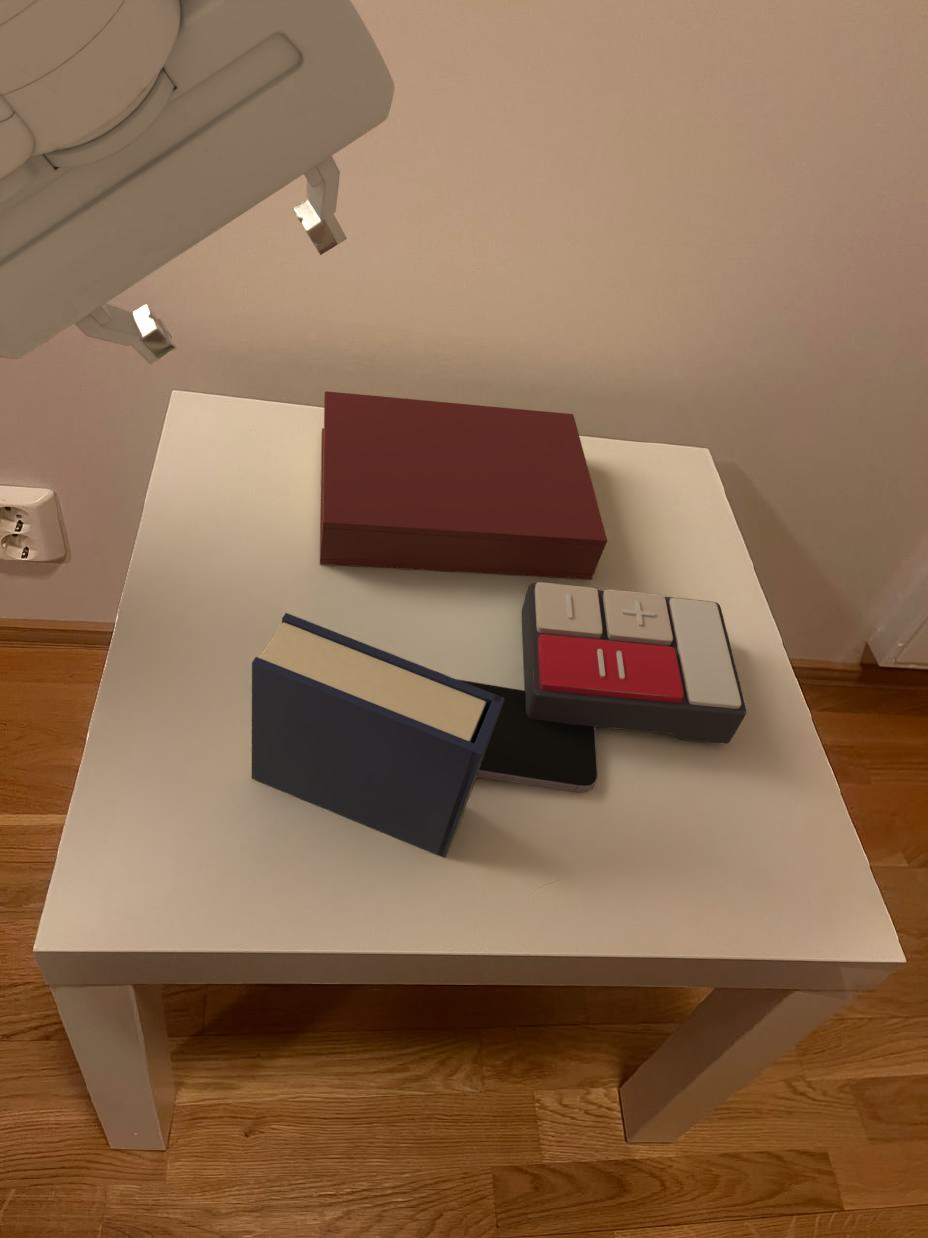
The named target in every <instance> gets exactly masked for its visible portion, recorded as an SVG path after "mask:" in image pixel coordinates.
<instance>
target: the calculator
mask: <svg viewBox="0 0 928 1238" xmlns="http://www.w3.org/2000/svg"><path fill="white" fill-rule="evenodd" d="M523 599H524V600H523V603H522V606H521V607H522V608H521V634H522V637H521V638H522V658H523V660H522V661H523V680H524V681H523V685H524V686H523V687H524V689H523V690H525V693H526V714H527V716H528V717H529V718H531V719H536V720H543V721H550V722H557V723H564V724H572V725H583V726H594V727H595V728H606V729H617V730H626V731H627V730H628V731H639V732H649V733H660V734H670V735H672V736H674V737H676V738H677V739H679V740H680V741H689V742H702V743H703V742H704V743H712V744H722V745H726V744H729V743H731V741H732V740H733V738H734V736H735V735H736V734H737V733H736V732H737V731H738V729H739V728H740V726H741V724H742V723H743V721H744V719H745V717H746V715H747V713H748V710H747V705H746V702H745V698H744V693H743V690H742V686H741V681H740V678H739V674H738V671H737V666H736V662H735V658H734V654H733V650H732V647H731V642H730V639H729V634H728V631H727V627H726V622H725V619H724V615H723V611H722V607H721V605H720V603H719V602H717V601H712V600H703V599H693V598H682V597H672V596H664V595H662V594H656V593H646V592H636V591H627V590H618V589H597V588H595V587H589V586H580V585H579V586H578V585H572V584H571V585H569V584H562V583H551V582H541V581H540V582H539V581H538V582H531V583H529V584H528V585H527V587H526V591H525V595H524V598H523Z"/></svg>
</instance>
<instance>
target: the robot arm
mask: <svg viewBox="0 0 928 1238" xmlns="http://www.w3.org/2000/svg"><path fill="white" fill-rule="evenodd" d="M395 86H396V85H395V83H394V79H393V77H392V75H391V73H390V70H389V68H388V65H387V64H386V62H385V59H384V58H383V56H382V54H381V51H380V50H379V48H378V45H377V43H376V41H375V40H374V38H373V36H372V34H371V33H370V31H369V29H368V27H367V26H366V24H365V22H364V20H363V19H362V17H361V14H360V13H359V12H358V10H357V9H356V7H355V6H354V4H353V2H352V0H0V359H5V360H6V359H7V360H20V359H23V358H24V357H26V356H28V355H29V354H31V353H32V352H34V351H35V350H37V349H38V348H40V347H42V346H43V345H44V344H46V343H47V342H48V341H51V340H52V339H53V338H55V337H57V336H58V335H60V334H61V333H63V332H64V331H66V330H67V329H69V328H70V327H72V326H74V325H75V326H76V327H77V328H78V329H79V330H80V331H81V332H82V333H83V334H84V335H85V336H86V337H88V338H91V339H92V338H93V339H97V340H100V341H104V342H109V343H113V344H117V345H121V346H125V347H130V346H131V347H132V348H133V350H135V352H137V353H138V354H139V355H140V357H142V358H143V359H144V360H145V361H146V362H147V364H149V365H150V366H151V365H154V364H155V363H156V362H158V361H160V360H162V359H163V358H164V357H166V356H168V355H169V354H170V353H172V352H174V351H175V350H176V349H177V348H178V347H177V344H176V342H175V341H174V340H173V335H172V334H171V332H170V330H169V328H168V327H167V325H166V324H165V323H164V321H163V320H162V319H160V318H158V317H157V315H156V313H155V311H153V309H151V307H150V306H149V305H148V304H147V303H145V304H143V305H142V306H141V307H139V308H138V309H136V310H133V311H132V312H131V311H130V310H126V309H124V308H121V307H118V306H115V305H112V304H109V302H110V301H112V300H113V299H114V298H116V297H117V296H119V295H121V294H122V293H124V292H125V291H128V289H130V288H132V287H134V286H135V285H136V284H138V283H139V282H141V281H143V280H144V279H145V278H147V277H149V276H150V275H151V274H153V273H155V272H156V271H158V270H159V269H160V268H162V267H164V266H166V264H168V263H170V262H171V261H173V260H175V259H176V258H178V257H179V256H180V255H182V254H184V253H186V252H187V251H189V249H191V248H193V247H194V246H196V245H198V244H199V243H200V242H203V240H205V239H207V238H209V236H211V235H213V234H215V233H216V232H218V231H219V230H221V229H222V228H223V227H225V226H227V225H228V224H229V223H231V222H233V221H234V220H236V219H238V218H239V217H240V216H242V215H243V214H245V213H246V212H248V211H249V210H252V208H254V207H256V206H257V205H259V204H260V203H262V202H263V201H265V200H267V199H268V198H270V197H271V196H273V195H274V194H275V193H277V192H279V191H280V190H282V189H284V188H285V187H286V186H287V185H289V184H291V183H292V182H294V181H295V180H297V179H299V178H300V177H302V176H304V178H305V179H306V199H304V200H302V201H301V202H300V203H298V204H297V205H295V206H294V207H293V208H292V211H293V212H294V214H295V216H296V217H297V219H298V221H299V223H300V225H301V226H302V227H303V230H304V231H305V233H306V235H307V236H308V237H309V239H310V241H311V242H312V244H313V246H314V247H315V249H316V251H317V252H318V254H319V255H320V256H322V255H323V254H325V253H326V252H327V253H328V251H330V250H331V249H333V248H335V247H336V246H339V244H341V243H343V242H344V241H346V240H347V235H346V234H345V232H344V230H343V229H342V226H341V224H340V223H339V221H338V219H337V218H336V215H335V213H336V212H337V204H338V203H337V202H338V193H339V185H340V177H341V176H340V175H341V171H340V169H339V167H338V165H337V163H336V161H335V158H334V157H333V156H334V155H336V154H337V153H338V152H340V151H342V150H343V149H344V148H347V146H350V145H351V144H352V143H354V142H356V141H357V140H358V139H360V138H362V137H363V136H365V135H366V134H367V133H369V132H370V131H373V129H376V128H378V126H380V125H381V124H383V123H384V122H385V121H386V120H387V119H388V117H389V115H390V112H391V108H392V105H393V104H392V103H393V98H394V94H395V89H396V88H395Z"/></svg>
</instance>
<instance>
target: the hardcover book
mask: <svg viewBox="0 0 928 1238" xmlns="http://www.w3.org/2000/svg"><path fill="white" fill-rule="evenodd" d="M459 680H460V679H459ZM459 680H457V678H454V677H451V676H449V675H447V674H444V673H442V672H439V671H436V670H434V669H431V668H428V667H426V666H423V665H421V664H419V663H416V662H413V661H411V660H408V659H406V658H403V657H401V656H399V655H398V656H397V655H396V654H392V653H390V652H388V651H385V650H383V649H380V648H378V647H375V646H372V645H370V644H367V643H365V642H363V641H360V640H358V639H355V638H352V637H349V636H346V635H344V634H342V633H340V632H336V631H334V630H331V629H329V628H326V627H323V626H321V625H318V624H316V623H314V622H311V621H308V620H306V619H304V618H300V617H299V616H296V615H293V614H290V613H288V612H285V613H284V615H283V616H282V617H281V624H280V626H278V629H277V630H276V632H275V633H274V635H273V636H272V638H271V639H270V641H269V642H268V644H267V645H266V646H265V648H264V650H263V651H262V653H261V654H260V656H259V657H258V656H255V657H254V659H253V660H252V661H251V780H254V781H256V782H258V783H261V784H263V785H266V786H268V787H271V788H273V789H276V790H277V791H280V792H282V793H286V794H288V795H291V796H293V797H294V798H297V799H300V800H302V801H305V802H308V803H310V804H312V805H315V806H317V807H319V808H322V809H324V810H327V811H329V812H332V813H334V814H336V815H339V816H341V817H344V818H346V819H349V820H351V821H353V822H356V823H358V824H360V825H363V826H366V827H368V828H370V829H373V830H375V831H378V832H380V833H383V834H385V835H388V836H390V837H392V838H395V839H398V840H400V841H402V842H404V843H407V844H409V845H412V846H415V847H417V848H420V849H422V850H424V851H426V852H428V853H431V854H434V855H436V856H438V857H441V858H444V859H446V858H447V855H448V853H449V851H450V848H451V845H452V843H453V840H454V838H455V836H456V833H457V830H458V827H459V825H460V822H461V821H462V819H463V815H464V813H465V810H466V808H467V805H468V802H469V800H470V796H471V794H472V791H473V788H474V786H475V783H476V780H477V778H478V777H477V775H478V772H479V769H480V766H481V763H482V761H483V758H484V755H485V752H486V750H487V747H488V744H489V741H490V738H491V736H492V733H493V730H494V727H495V725H496V722H497V719H498V716H499V713H500V711H501V708H502V705H503V702H504V698H503V697H500V696H498V695H495V694H493V693H490V692H487V691H485V690H482V689H480V688H477V687H475V686H472V685H470V684H467V683H464V682H462V681H459Z"/></svg>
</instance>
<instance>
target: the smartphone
mask: <svg viewBox="0 0 928 1238" xmlns="http://www.w3.org/2000/svg"><path fill="white" fill-rule="evenodd" d="M456 679H457V678H456ZM457 680H459V681H462V682H464V683H467V684H470V685H472V686H475V687H477V688H480V689H482V690H485V691H487V692H490V693H493V694H495V695H498V696H500V697H503V698H504V702H503V705H502V708H501V711H500V713H499V716H498V719H497V722H496V725H495V727H494V730H493V733H492V736H491V738H490V741H489V744H488V747H487V750H486V752H485V755H484V758H483V761H482V763H481V766H480V769H479V772H478V775H477V777H476V778H484V779H490V780H495V781H496V780H497V781H504V782H510V783H517V784H523V785H529V786H537V787H543V788H549V789H556V790H563V791H569V792H576V793H588V792H589V791H591V790H592V789H594V786H595V785H596V783H597V782H598V778H599V769H598V752H597V751H598V750H597V738H596V737H597V736H596V735H597V734H596V727H594V726H583V725H572V724H564V723H557V722H550V721H543V720H536V719H531V718H529V717H528V716H527V714H526V693H525V689H517V688H512V687H507V686H506V687H505V686H499V685H494V684H487V683H483V682H476V681H470V680H463V679H457Z"/></svg>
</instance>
